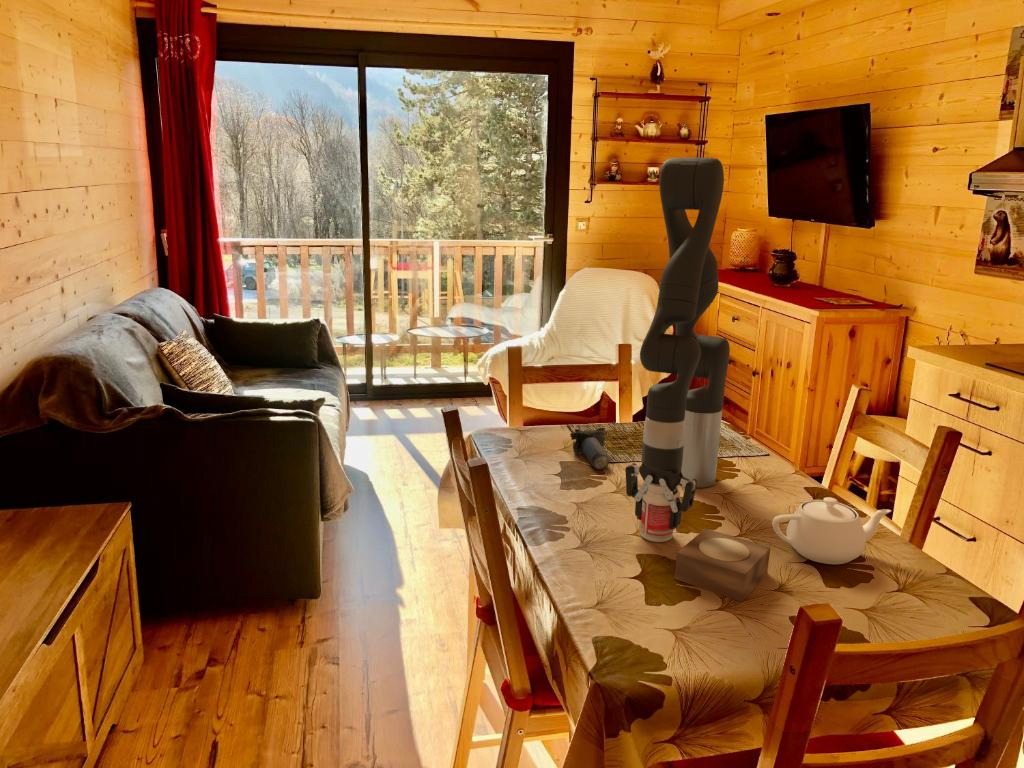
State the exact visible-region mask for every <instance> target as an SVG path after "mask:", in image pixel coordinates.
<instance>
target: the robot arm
mask: <svg viewBox="0 0 1024 768" xmlns="http://www.w3.org/2000/svg"><path fill="white" fill-rule="evenodd" d="M723 166H724V165H723V164H722V162H721V160H719V159H718V158H714V157H672V158H668V159H666V160H665V161H664V162H663V163H662V165H661V168H660V172H659V180H658V181H659V183H658V184H659V185H658V187H659V196H660V203H661V208H662V214H663V218H664V224H665V230H666V235H667V242H668V243H667V244H668V253H669V255H668V256H669V257H668V258H669V260H668V261H667V264H665V266H664V269H663V272H662V275H661V278H660V282H659V290H658V291H659V292H658V297H657V303H656V308H655V309H656V310H655V314H654V316H653V319H652V322H651V324H650V326H649V329H648V331H647V333H646V335H645V337H644V339H643V342H642V344H641V346H640V350H639V359H640V363H641V365H642V367H643V368H644V369H645V370H646V371H649V372H652V373H653V372H654V373H662V374H663V373H665V374H672V375H677V377H676V379H675V380H674V381H671V382H662V383H656V384H652V385H651V386H650V387H649V389H648V390H647V398H646V409H645V412H646V413H645V420H644V424H643V432H642V446H641V447H642V448H641V460H640V461H641V465H638V464H637V463H635V462H633V463H631V464H629V465H628V466H626V467H625V471H624V472H625V487H626V489H625V490H626V495H627V496H628V497H632V498H633V499H634V501H635V504H634V505H635V506H634V509H635V510H634V514H635V517H636V519H637V520H639V521H641V514H642V498H643V494H644V493H645V492H647V491H648V485H649V484H651V483H655V484H659V485H661V487H663V488H664V494H665V497H666V500H667V501H669V502H670V506H671V509H672V511H671V514H670V527H669V528H670V529H671V530H673V531H674V530H675V529H677V528H678V527H680V525H681V524H682V513H684V512H687V511H689V510H690V509H691V508H693V503H694V499H695V496H696V490H697V488H698V489H699V488H703V489H704V488H709V487H711V486H713V485H715V484H716V479H717V467H718V459H719V458H718V457H719V448H720V437H721V436H720V435H721V429H722V428H721V426H722V425H721V424H722V415H723V408H724V407H723V406H724V397H725V389H726V381H727V374H728V368H729V361H730V352H731V349H730V343H729V340H728V339H727V338H726V337H725V338H724V337H721V336H715V335H714V336H712V335H711V336H710V335H703V334H696V333H695V330H694V329H695V326H696V324H697V322H698V320H699V319H701V317H702V315H703V314H704V313H705V312H706V311H707V310H708V309H709V307H711V305H712V303H713V302H714V300H715V298H716V297H717V295H718V292H719V268H718V261H717V258H716V256H715V254H714V252H713V251H712V250H711V248H710V243H711V241H712V237H713V233H714V230H715V225H716V222H717V218H718V214H719V210H720V205H721V203H722V197H723V190H724V184H725V175H724V174H725V172H724V167H723ZM686 210H690V211H692V210H693V211H697V210H698V214H697V218H696V221H695V223H694V225H693V226H692V224H691V222H690V220H689V218H688V215H687V212H686ZM672 326H675V334H670V333H666V332H667V331H668V329H669V328H671V327H672ZM693 377H694V378H702V379H708V382H707V383H708V384H707V385H705V386H704V385H703V386H702V387H699V388H694V389H690V387H691V382H692V380H693ZM638 476H641V478H642V480H643V482H642V484H641V485H640V487H638V486H639V485H638V483H639V482H638V481H639V480H638ZM679 485H681V486H682V490H683V496H682V498H681V491H680V490H679V487H678V486H679ZM671 491H672V493H671Z"/></svg>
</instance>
